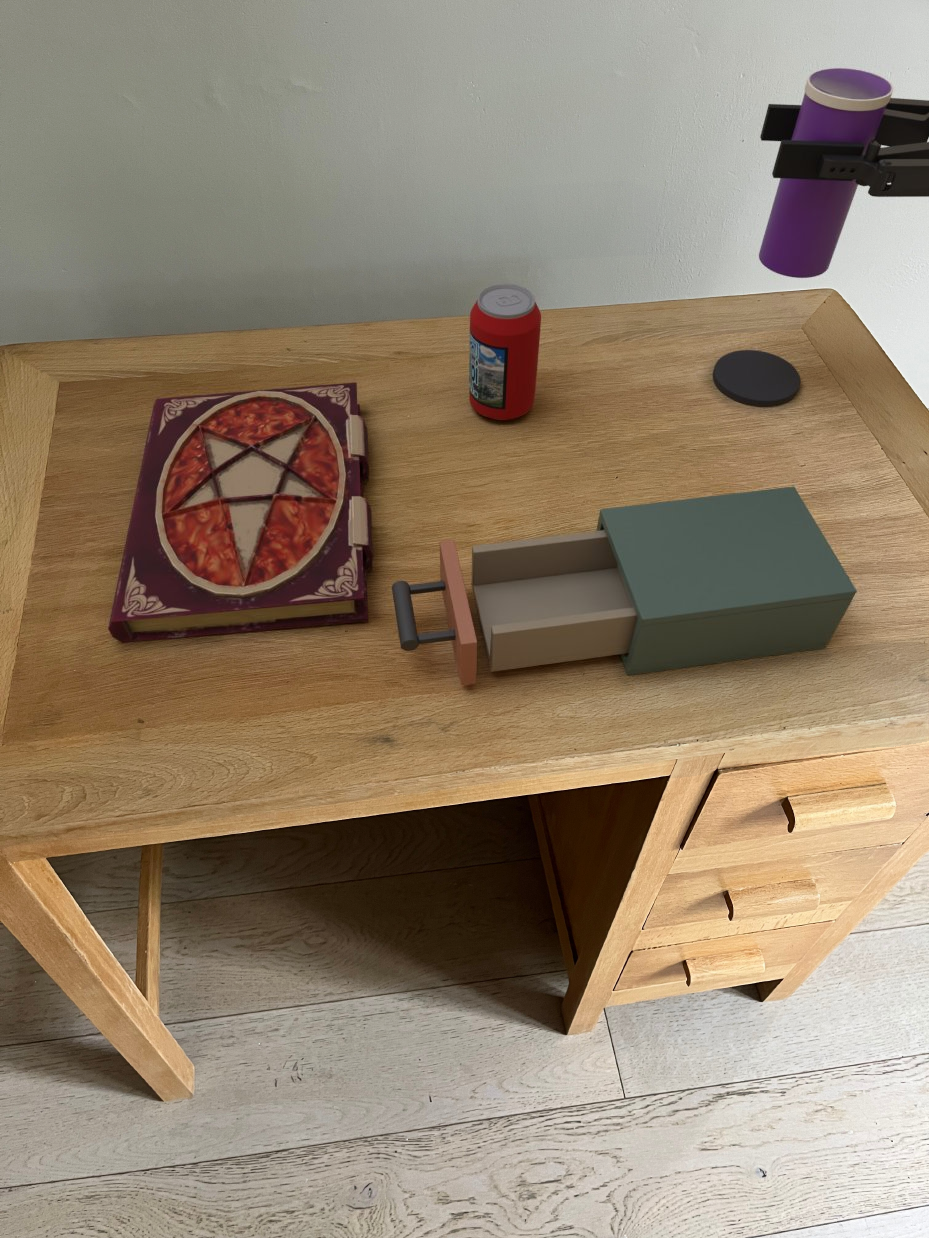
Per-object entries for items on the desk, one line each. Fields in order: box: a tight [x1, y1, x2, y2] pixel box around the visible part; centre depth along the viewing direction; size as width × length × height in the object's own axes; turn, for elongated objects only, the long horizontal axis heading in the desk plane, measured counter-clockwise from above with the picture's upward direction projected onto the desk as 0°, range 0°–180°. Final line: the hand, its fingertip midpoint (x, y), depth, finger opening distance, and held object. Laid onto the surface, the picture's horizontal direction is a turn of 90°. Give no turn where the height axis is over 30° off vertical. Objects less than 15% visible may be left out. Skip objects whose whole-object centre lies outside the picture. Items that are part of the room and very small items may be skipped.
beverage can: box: [468, 283, 542, 421], centre depth 84 cm, size 7×7×12 cm
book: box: [107, 381, 374, 643], centre depth 77 cm, size 28×21×5 cm
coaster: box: [712, 349, 801, 408], centre depth 91 cm, size 9×9×1 cm
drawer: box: [391, 530, 638, 686], centre depth 67 cm, size 20×10×5 cm, turn 100°
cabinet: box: [595, 486, 858, 676], centre depth 69 cm, size 17×12×7 cm
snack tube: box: [758, 67, 894, 279], centre depth 75 cm, size 7×7×15 cm
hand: (771, 140), depth 73 cm, fingers closed on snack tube, 6 cm apart
